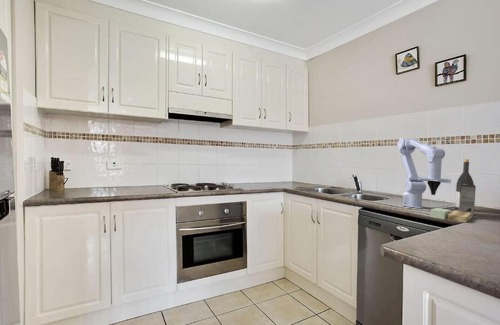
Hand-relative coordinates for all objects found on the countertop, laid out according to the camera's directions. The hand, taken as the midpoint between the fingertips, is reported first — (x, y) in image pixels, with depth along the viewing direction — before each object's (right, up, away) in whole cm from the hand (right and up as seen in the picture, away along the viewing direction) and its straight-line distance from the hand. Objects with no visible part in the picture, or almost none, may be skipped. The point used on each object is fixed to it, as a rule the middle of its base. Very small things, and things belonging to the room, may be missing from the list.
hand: (433, 194), depth 142 cm
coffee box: (+17, -11, -1) cm, 20 cm away
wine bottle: (+25, -10, +10) cm, 29 cm away
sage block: (-4, -10, -10) cm, 15 cm away
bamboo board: (+5, -10, -12) cm, 17 cm away
